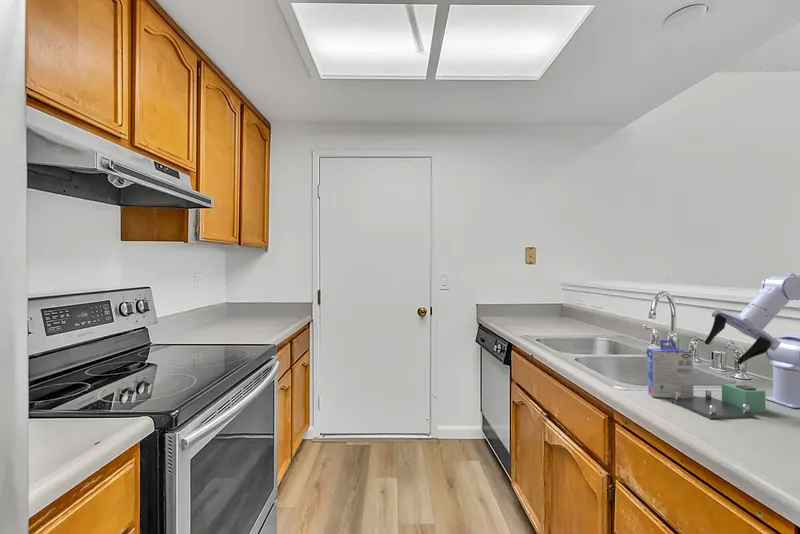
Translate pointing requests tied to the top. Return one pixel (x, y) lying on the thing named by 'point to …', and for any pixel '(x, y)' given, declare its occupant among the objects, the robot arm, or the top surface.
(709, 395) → the chassis
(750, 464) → the top surface
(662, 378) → the ink cartridge box
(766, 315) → the robot arm
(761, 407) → the block
